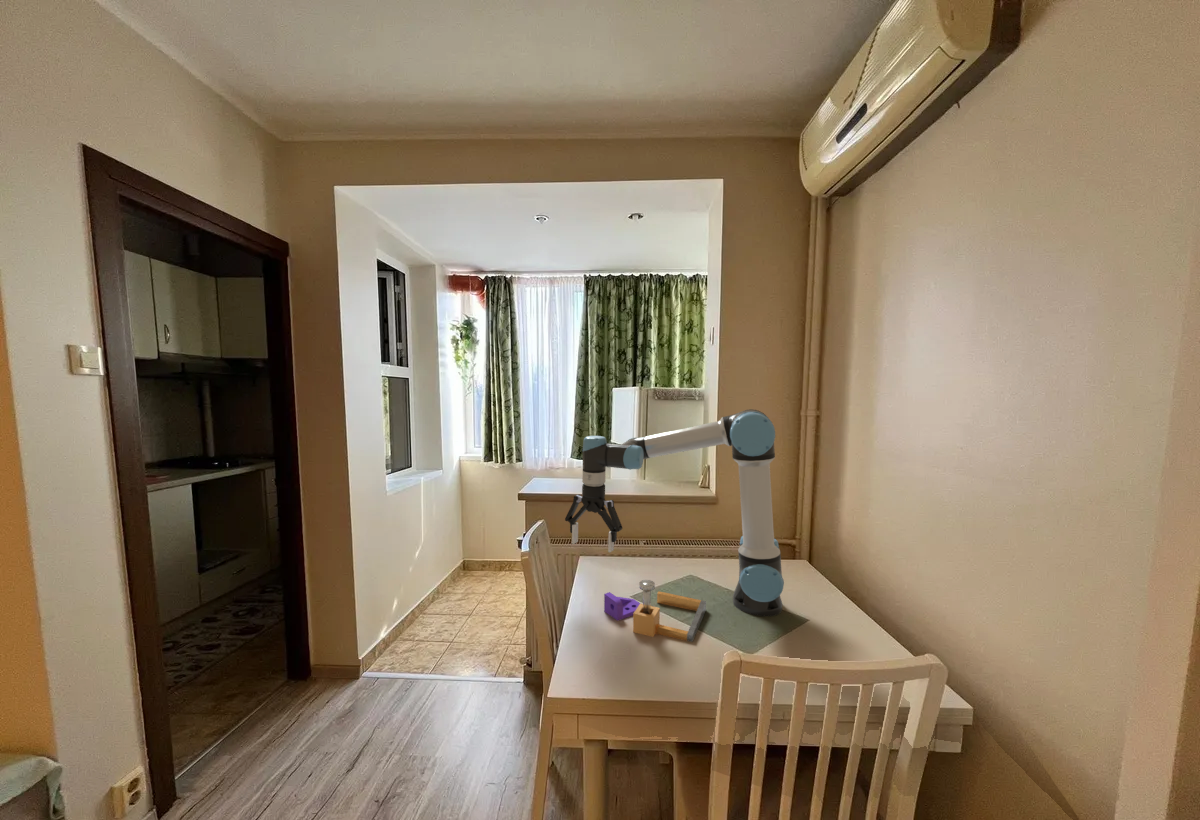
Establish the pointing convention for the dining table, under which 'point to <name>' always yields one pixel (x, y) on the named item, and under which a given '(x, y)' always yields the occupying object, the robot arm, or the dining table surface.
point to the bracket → (619, 606)
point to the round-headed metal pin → (647, 594)
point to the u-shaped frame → (687, 604)
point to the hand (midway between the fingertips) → (592, 546)
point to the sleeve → (646, 621)
